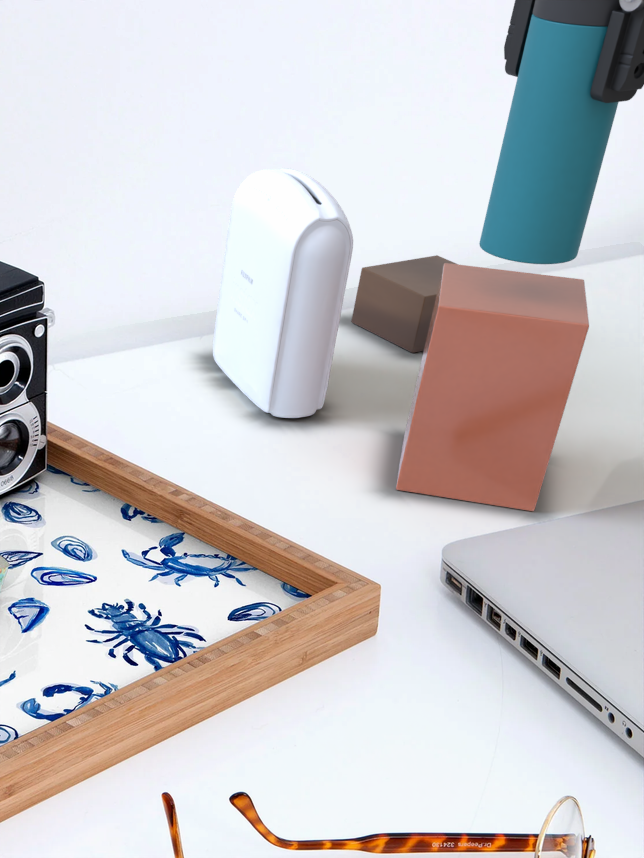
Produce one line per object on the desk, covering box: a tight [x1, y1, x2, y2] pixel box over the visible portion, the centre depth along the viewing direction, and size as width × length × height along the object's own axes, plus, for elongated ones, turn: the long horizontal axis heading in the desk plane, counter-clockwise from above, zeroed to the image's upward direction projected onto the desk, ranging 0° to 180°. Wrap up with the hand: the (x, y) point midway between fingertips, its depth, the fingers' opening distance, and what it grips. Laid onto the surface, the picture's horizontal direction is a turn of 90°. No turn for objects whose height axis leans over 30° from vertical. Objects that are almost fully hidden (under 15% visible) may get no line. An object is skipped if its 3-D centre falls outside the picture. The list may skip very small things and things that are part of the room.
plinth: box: [395, 263, 590, 512], centre depth 76 cm, size 7×7×10 cm
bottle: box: [478, 0, 623, 265], centre depth 69 cm, size 12×5×5 cm
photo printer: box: [212, 167, 354, 419], centre depth 85 cm, size 10×4×12 cm, turn 11°
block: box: [350, 254, 460, 354], centre depth 96 cm, size 6×6×4 cm
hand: (567, 85), depth 68 cm, fingers closed on bottle, 4 cm apart
